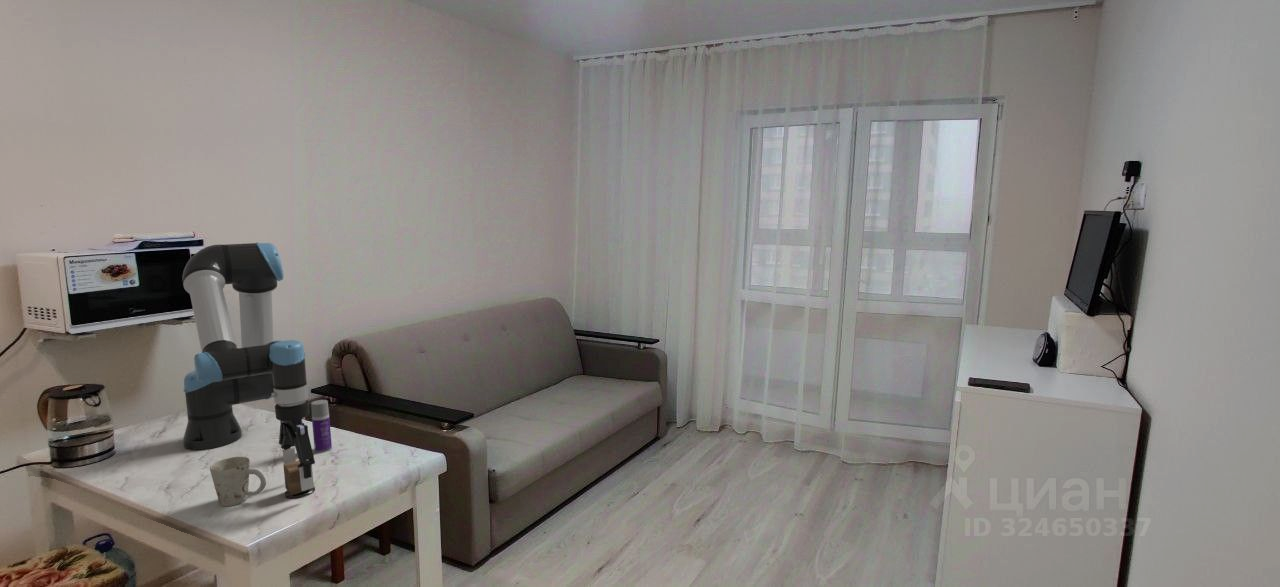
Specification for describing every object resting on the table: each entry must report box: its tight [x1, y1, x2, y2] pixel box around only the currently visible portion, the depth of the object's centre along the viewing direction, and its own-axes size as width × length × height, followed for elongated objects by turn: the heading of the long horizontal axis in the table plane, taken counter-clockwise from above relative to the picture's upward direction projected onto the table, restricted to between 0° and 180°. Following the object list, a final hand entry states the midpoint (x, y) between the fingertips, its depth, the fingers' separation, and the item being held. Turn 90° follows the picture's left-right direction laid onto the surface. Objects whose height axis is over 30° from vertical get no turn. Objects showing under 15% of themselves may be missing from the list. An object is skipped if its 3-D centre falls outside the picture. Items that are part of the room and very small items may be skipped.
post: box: [284, 486, 316, 499], centre depth 160 cm, size 7×7×7 cm
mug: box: [209, 456, 267, 507], centre depth 156 cm, size 8×13×10 cm, turn 95°
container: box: [310, 399, 333, 453], centre depth 187 cm, size 5×5×15 cm
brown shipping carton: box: [283, 459, 314, 495], centre depth 160 cm, size 5×5×7 cm
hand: (298, 480), depth 160 cm, fingers open, 13 cm apart
